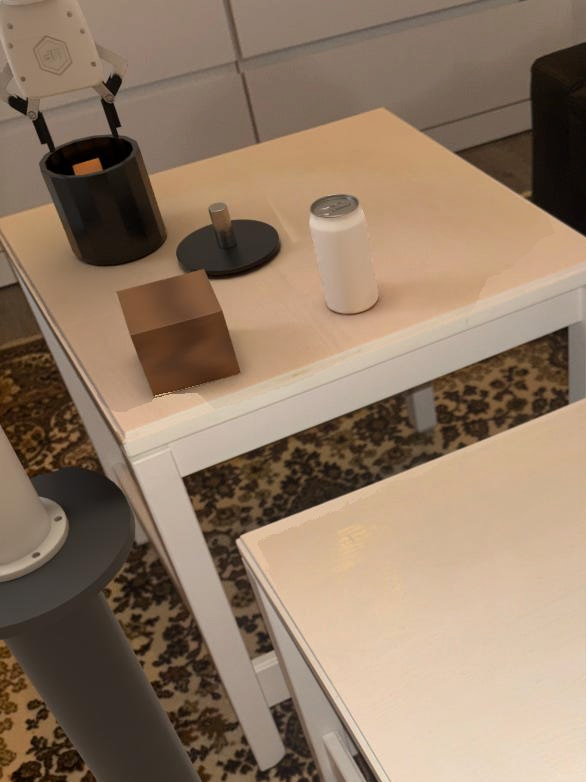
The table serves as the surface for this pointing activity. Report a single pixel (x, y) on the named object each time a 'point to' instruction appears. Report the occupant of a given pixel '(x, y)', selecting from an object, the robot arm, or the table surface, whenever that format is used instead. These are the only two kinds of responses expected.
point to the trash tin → (104, 199)
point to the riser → (179, 332)
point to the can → (343, 253)
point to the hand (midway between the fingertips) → (83, 140)
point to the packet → (88, 167)
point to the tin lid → (227, 244)
